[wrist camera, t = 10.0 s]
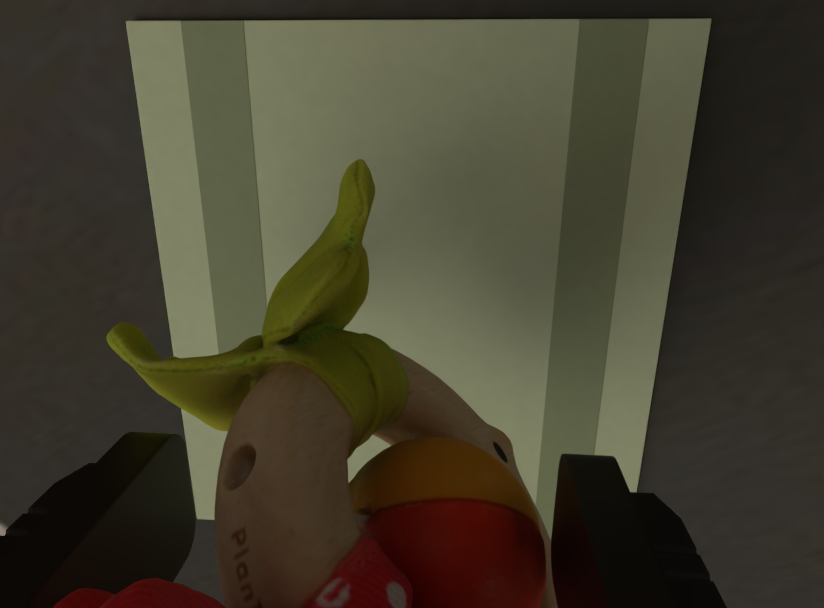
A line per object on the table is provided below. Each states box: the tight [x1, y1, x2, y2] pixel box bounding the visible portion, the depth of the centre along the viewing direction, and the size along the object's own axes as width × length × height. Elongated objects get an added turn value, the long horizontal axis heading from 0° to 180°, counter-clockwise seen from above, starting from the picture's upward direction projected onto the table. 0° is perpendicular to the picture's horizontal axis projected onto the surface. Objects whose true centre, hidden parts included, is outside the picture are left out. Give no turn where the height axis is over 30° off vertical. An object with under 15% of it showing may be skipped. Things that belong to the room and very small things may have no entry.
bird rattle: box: [53, 159, 558, 608], centre depth 9 cm, size 6×11×9 cm
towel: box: [126, 18, 711, 540], centre depth 17 cm, size 15×14×1 cm
